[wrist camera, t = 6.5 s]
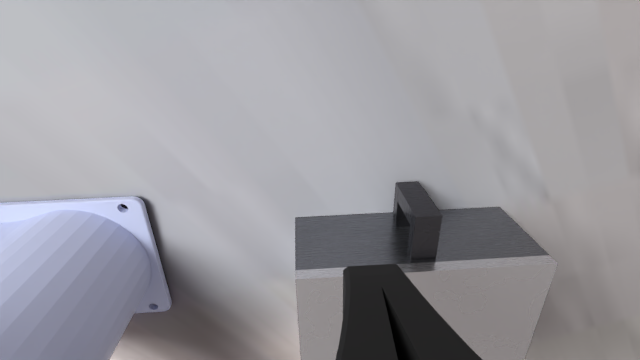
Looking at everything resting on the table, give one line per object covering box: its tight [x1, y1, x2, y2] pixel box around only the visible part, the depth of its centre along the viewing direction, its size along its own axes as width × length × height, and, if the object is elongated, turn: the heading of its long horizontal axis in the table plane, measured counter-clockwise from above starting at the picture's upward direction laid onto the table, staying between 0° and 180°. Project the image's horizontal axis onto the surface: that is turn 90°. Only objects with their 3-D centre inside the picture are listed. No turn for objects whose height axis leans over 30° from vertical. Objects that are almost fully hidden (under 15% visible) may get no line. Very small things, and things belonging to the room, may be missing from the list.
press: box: [295, 182, 558, 360], centre depth 20 cm, size 12×14×5 cm
